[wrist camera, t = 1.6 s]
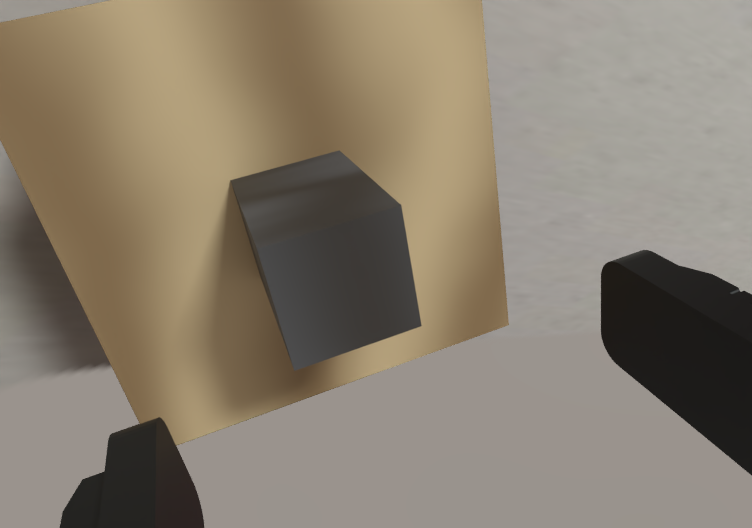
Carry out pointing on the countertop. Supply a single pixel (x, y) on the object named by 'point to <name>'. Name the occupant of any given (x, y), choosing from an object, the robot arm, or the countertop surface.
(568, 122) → the countertop surface
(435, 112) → the lid
